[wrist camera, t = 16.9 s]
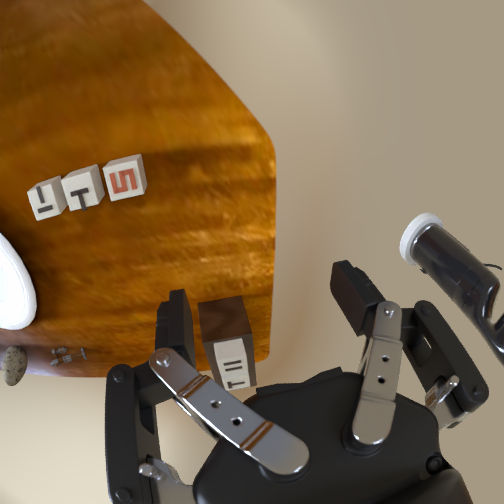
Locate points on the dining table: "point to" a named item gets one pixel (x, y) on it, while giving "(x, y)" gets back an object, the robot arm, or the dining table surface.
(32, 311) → the plate
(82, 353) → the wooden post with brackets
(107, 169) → the tile
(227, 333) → the tile rack
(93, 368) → the dining table surface
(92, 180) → the letter cube pair
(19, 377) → the decorative egg
